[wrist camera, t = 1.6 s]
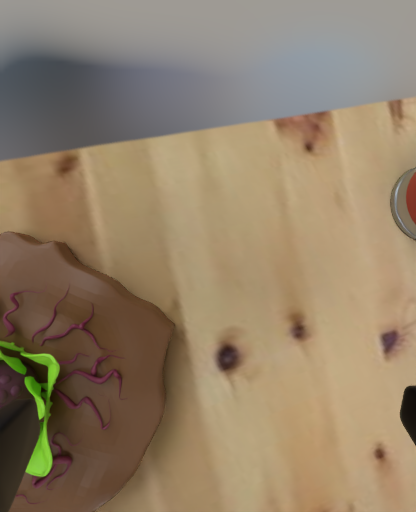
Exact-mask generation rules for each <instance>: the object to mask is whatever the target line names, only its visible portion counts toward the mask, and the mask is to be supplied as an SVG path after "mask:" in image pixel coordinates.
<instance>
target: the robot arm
mask: <svg viewBox="0 0 416 512" xmlns="http://www.w3.org/2000/svg"><path fill="white" fill-rule="evenodd" d="M400 418H401V421H402V424H403V426H404V427H405V429H406V430H407V432H408V434H409V435H410V437H411V439H412V440H413V442H414V444H415V445H416V386H408V387H406V389H405V391H404V395H403V400H402V405H401V410H400ZM39 435H40V422H39V416H38V409H37V404H36V401H35V400H34V399H16V400H13V401H11V402H10V403H8V404H6V405H5V406H3V407H2V408H0V512H9V510H10V508H11V506H12V503H13V501H14V498H15V496H16V493H17V491H18V488H19V486H20V483H21V481H22V478H23V476H24V474H25V471H26V469H27V466H28V464H29V461H30V459H31V456H32V454H33V451H34V449H35V447H36V444H37V442H38V439H39Z"/></svg>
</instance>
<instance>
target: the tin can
mask: <svg viewBox="0 0 416 512" xmlns="http://www.w3.org/2000/svg"><path fill="white" fill-rule="evenodd" d="M391 211H392V214H393V217H394V220H395V222H396V223H397V225H398V226H399V228H400V229H401V230H402V231H403V232H404V233H405V234H407V235H408V236H410V237H411V238H413V239H416V167H415V168H413V169H411V170H409V171H407V172H406V173H404V174H403V175H402V176H401V177H400V178H399V180H398V181H397V182H396V184H395V186H394V188H393V191H392V195H391Z"/></svg>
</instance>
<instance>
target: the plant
mask: <svg viewBox="0 0 416 512" xmlns="http://www.w3.org/2000/svg"><path fill="white" fill-rule="evenodd" d="M174 326H175V325H174V323H172V322H171V321H170V320H169V319H168V318H167V317H166V316H165V315H164V314H163V313H162V312H161V310H160V309H159V308H158V307H156V306H155V305H153V304H152V303H149V302H147V301H144V300H142V299H140V298H138V297H136V296H134V295H132V294H131V293H130V292H129V291H127V290H126V289H125V288H124V287H123V286H122V285H121V284H120V283H119V282H118V281H116V280H115V279H113V278H111V277H109V276H107V275H104V274H102V273H100V272H98V271H96V270H93V269H91V268H88V267H86V266H84V265H82V264H81V263H80V262H78V261H77V260H76V258H75V257H74V256H73V255H72V253H71V252H70V250H69V248H68V246H67V244H65V243H62V242H57V241H51V242H47V243H43V244H42V243H40V242H38V241H37V240H36V239H34V238H33V237H31V236H29V235H25V234H20V233H15V232H4V233H2V234H0V408H2V407H3V406H5V405H6V404H8V403H10V402H11V401H13V400H16V399H34V400H35V401H36V404H37V409H38V416H39V422H40V435H39V439H38V442H37V444H36V447H35V449H34V451H33V454H32V456H31V459H30V461H29V464H28V466H27V469H26V471H25V474H24V476H23V478H22V481H21V483H20V486H19V488H18V491H17V493H16V496H15V498H14V501H13V503H12V506H11V508H10V510H9V512H94V511H95V510H96V509H97V508H99V507H100V506H102V505H103V504H105V503H106V502H108V501H109V500H111V499H112V498H113V497H114V496H115V495H116V494H118V493H119V492H120V490H121V489H122V488H123V487H124V486H125V484H126V483H127V482H128V481H129V480H130V478H131V477H132V476H133V475H134V473H135V472H136V470H137V469H138V467H139V465H140V463H141V461H142V458H143V456H144V454H145V452H146V450H147V447H148V446H149V444H150V442H151V440H152V438H153V436H154V434H155V432H156V430H157V428H158V426H159V424H160V421H161V419H162V417H163V414H164V411H165V403H166V393H165V387H164V381H163V368H164V362H165V356H166V351H167V347H168V344H169V341H170V339H171V336H172V333H173V330H174Z"/></svg>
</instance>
